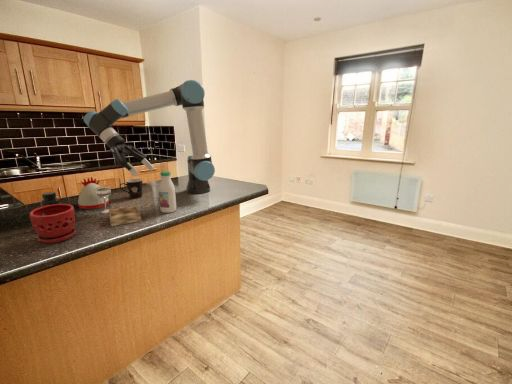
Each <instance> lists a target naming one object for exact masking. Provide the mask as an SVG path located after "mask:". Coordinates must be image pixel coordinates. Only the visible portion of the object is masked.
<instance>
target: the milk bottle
mask: <svg viewBox="0 0 512 384" xmlns="http://www.w3.org/2000/svg"><path fill="white" fill-rule="evenodd" d="M160 178H161V179H160V183H159V186H158V196H159V197H158V200H159V209H160V210H159V211H160V212H161V213H164V214H168V213H174V212H176V211H177V200H176V189H175V185H174V183H173V180H172V179H171V171H169V170H168V171H167V170H165V171H160Z"/></svg>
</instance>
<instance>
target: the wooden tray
mask: <svg viewBox="0 0 512 384" xmlns="http://www.w3.org/2000/svg"><path fill="white" fill-rule="evenodd" d="M108 214H109V222H110V226H111V227H115V226H119V225H121V226H122V225H126V224H130V223H137V222H142V217H141V215H142V214H141V211H140V210H139V208H138V205H135V206H130V207H129V206H128V207H122V208H115V209H109V212H108Z"/></svg>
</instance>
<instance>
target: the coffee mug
mask: <svg viewBox="0 0 512 384" xmlns="http://www.w3.org/2000/svg"><path fill="white" fill-rule="evenodd" d="M125 182H126V183H124V182H123V183H120V184H119V189H120V190H122V192H123V191H124V192H126V193H128V195H129V197H130V198H129V199H134V200H135V199H141V198H142V197H143V178H142V179H141V178H131V179H127V180H126V181H125ZM122 185H125V186H126V187H127V190H125V189H123V188H122V187H121V186H122Z"/></svg>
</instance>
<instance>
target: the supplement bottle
mask: <svg viewBox="0 0 512 384" xmlns="http://www.w3.org/2000/svg"><path fill="white" fill-rule="evenodd" d="M41 196H42V199H41V200H40V207H43V206H47V205H53V204H61V201H60V199H59V198H58V197H57V194H56V192H55V191H50V192H49V191H48V192H43V193H42V194H41ZM56 212H57V211H56V210H55V211H54V213H56ZM45 215H46V213H43V214H42V216H45ZM49 215H52V214H51V213H50V214H49Z"/></svg>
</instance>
